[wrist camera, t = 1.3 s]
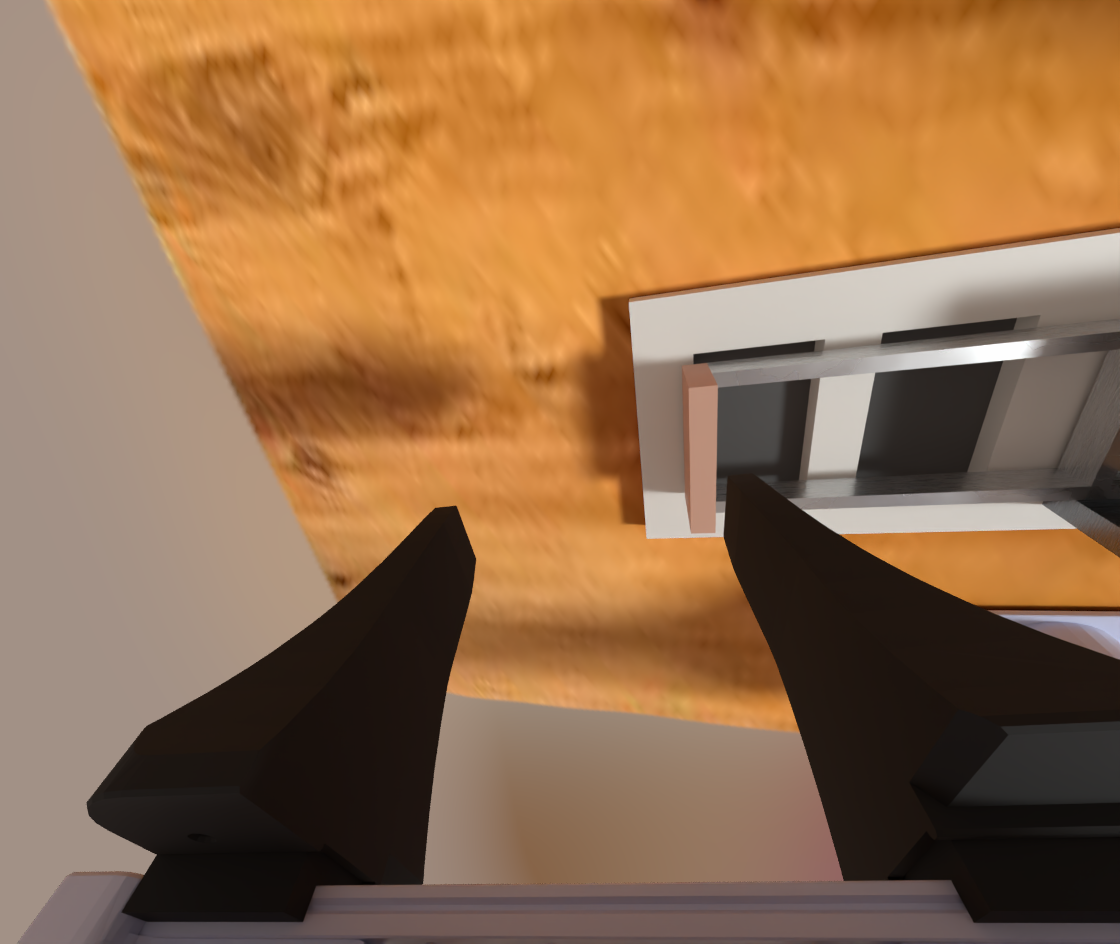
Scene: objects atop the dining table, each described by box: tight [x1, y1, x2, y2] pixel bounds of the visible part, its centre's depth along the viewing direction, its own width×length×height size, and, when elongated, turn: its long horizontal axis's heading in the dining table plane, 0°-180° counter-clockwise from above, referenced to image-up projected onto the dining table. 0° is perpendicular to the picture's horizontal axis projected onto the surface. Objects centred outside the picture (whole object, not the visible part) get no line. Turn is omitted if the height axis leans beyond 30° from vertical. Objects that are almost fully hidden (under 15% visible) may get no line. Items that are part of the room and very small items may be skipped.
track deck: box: [629, 228, 1120, 539], centre depth 17 cm, size 30×12×1 cm, turn 99°
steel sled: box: [682, 319, 1120, 534], centre depth 16 cm, size 21×6×3 cm, turn 99°
